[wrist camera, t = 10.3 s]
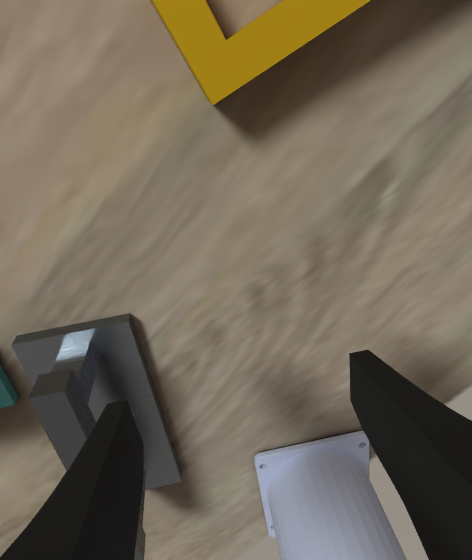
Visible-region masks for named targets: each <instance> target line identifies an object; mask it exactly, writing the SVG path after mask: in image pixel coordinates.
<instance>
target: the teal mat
mask: <svg viewBox="0 0 472 560" xmlns="http://www.w3.org/2000/svg"><path fill="white" fill-rule="evenodd" d="M18 398H19V397H18V396H17V394H16V392H15V390H14V388H13V386H12V385H11V383H10V381H9V379H8V377H7V375H6V374H5V372H4V370H3V368H2V366H1V364H0V408H3V407H8V406H13V405H15V404H16V402H17V400H18Z"/></svg>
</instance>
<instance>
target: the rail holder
mask: <svg viewBox="0 0 472 560" xmlns="http://www.w3.org/2000/svg"><path fill="white" fill-rule="evenodd" d="M12 347H13V349H14V351H15V353H16V355H17V357H18V359H19V361H20V363H21V364H22V366H23V368H24V370H25V372H26V374H27V376H28V378H29V380H30V382H31V384H32V386H33V389H32V391H31V393H30V396H29V398H28V399H29V401H30V403H31V405H32V407H33V409H34V411H35V413H36V415H37V416H38V418H39V420H40V422H41V424H42V426H43V428H44V430H45V431H46V433H47V435H48V437H49V439H50V441H51V443H52V445H53V447H54V448H55V450H56V452H57V454H58V456H59V458H60V460H61V462H62V463H63V465H64V467H65V469H66V471H67V470H68V469H69V467H70V466H71V464H72V463H73V461H74V459H75V458H76V456H77V455H78V453H79V451H80V450H81V448H82V446H83V445H84V443H85V441H86V440H87V438H88V436H89V434H90V433H91V431H92V429H93V428H94V426H95V424H96V422H97V420H98V419H99V417H100V415H101V413H102V412H103V410H104V408H105V406H106V405H107V404H108V403H113V402H118V401H123V400H127V402H128V404H129V407H130V410H131V412H132V415H133V418H134V420H135V423H136V426H137V428H138V431H139V433H140V436H141V439H142V441H143V444H144V478H143V487H142V496H141V505H140V513H139V521H138V530H137V538H136V547H135V557H134V560H144V552H145V536H146V535H145V532H144V530H143V528H142V525H143V511H144V497H145V490H147V489H152V488H157V487H161V486H166V485H170V484H175V483H180V482H182V471H181V468H180V465H179V462H178V459H177V456H176V452H175V449H174V446H173V443H172V440H171V437H170V434H169V431H168V428H167V425H166V422H165V419H164V416H163V413H162V410H161V407H160V404H159V401H158V398H157V394H156V391H155V388H154V385H153V382H152V379H151V376H150V373H149V370H148V367H147V364H146V361H145V358H144V355H143V352H142V349H141V346H140V343H139V339H138V336H137V333H136V330H135V327H134V324H133V321H132V318H131V315H130V314H124V315H119V316H114V317H109V318H104V319H99V320H94V321H89V322H84V323H79V324H74V325H69V326H64V327H59V328H54V329H49V330H44V331H39V332H34V333H29V334H24V335H19V336H16V338H15V340H14V341H13V343H12Z"/></svg>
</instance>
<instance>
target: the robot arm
mask: <svg viewBox="0 0 472 560" xmlns="http://www.w3.org/2000/svg"><path fill="white" fill-rule="evenodd" d="M349 355H350V396H351V403H352V405H353V407H354V410H355V412H356V415H357V417H358V420H359V422H360V424H361V427H362V429H363V431H358V432H353V433H348V434H344V435H339V436H335V437H330V438H325V439H321V440H316V441H311V442H307V443H302V444H298V445H293V446H288V447H284V448H279V449H274V450H270V451H265V452H260V453H258V454H256V455H255V457H254V461H255V466H256V471H257V476H258V481H259V487H260V492H261V497H262V502H263V507H264V512H265V517H266V523H267V528H268V533H269V536H270V537H272V538H276V540H277V544H278V549H279V554H280V559H281V560H407V559H406V557H405V555H404V553H403V551H402V548H401V546H400V544H399V542H398V540H397V538H396V536H395V533H394V531H393V529H392V528H391V525H390V523H389V521H388V519H387V516H386V514H385V512H384V510H383V508H382V506H381V504H380V501H379V499H378V497H377V495H376V493H375V491H374V489H373V487H372V484H371V482H370V480H369V442H370V444H371V445H372V447H373V449H374V451H375V452H376V454H377V456H378V458H379V459H380V461H381V463H382V465H383V467H384V468H385V470H386V472H387V474H388V475H389V477H390V478H391V481H392V482H393V484H394V486H395V488H396V490H397V491H398V493H399V495H400V497H401V499H402V501H403V502H404V505H405V507H406V509H407V511H408V513H409V516H410V518H411V520H412V522H413V524H414V526H415V529H416V531H417V533H418V536H419V538H420V540H421V542H422V545H423V547H424V549H425V551H426V554H427V556H428V558H429V560H472V421H471V420H469V419H467V418H465V417H464V416H462V415H460V414H458V413H457V412H455V411H453V410H452V409H450V408H448V407H447V406H445V405H444V404H442V403H441V402H439V401H437V400H436V399H434V398H433V397H431V396H430V395H428V394H427V393H426V392H424V391H423V390H421V389H420V388H418V387H417V386H416V385H414V384H413V383H411V382H410V381H409V380H407V379H406V378H404V377H403V376H402V375H400V374H399V373H398V372H396V371H395V370H394V369H393V368H391V367H390V366H389V365H387V364H386V363H385V362H383V361H382V360H381V359H380V358H378V357H377V356H376V355H374V354H373V353H372V352H370V351H369V350H364V351H359V352H354V353H349ZM143 478H144V444H143V441H142V439H141V436H140V433H139V431H138V428H137V426H136V423H135V420H134V418H133V415H132V412H131V410H130V407H129V404H128V402H127V400H123V401H118V402H113V403H108V404H107V405H106V406H105V408H104V410H103V412H102V413H101V415H100V417H99V419H98V420H97V422H96V424H95V426H94V428H93V429H92V431H91V433H90V434H89V436H88V438H87V440H86V441H85V443H84V445H83V446H82V448H81V450H80V451H79V453H78V455H77V456H76V458H75V459H74V461H73V463H72V464H71V466H70V467H69V469H68V470H67V472H66V473H65V475H64V476H63V478H62V479H61V481H60V482H59V484H58V485H57V487H56V488H55V490H54V491H53V493H52V494H51V495H50V497H49V498H48V500H47V501H46V502H45V504H44V505H43V506H42V508H41V509H40V510H39V512H38V513H37V514H36V516H35V517H34V518H33V519H32V521H31V522H30V523H29V525H28V526H27V527H26V528H25V529H24V531H23V532H22V533H21V534H20V535H19V537H18V538H17V539H16V540H15V541H14V542H13V543H12V545H11V546H10V547H9V548H8V549H7V550H6V551H5V552H4V554H3V555H2V556H1V557H0V560H134V557H135V547H136V538H137V530H138V521H139V513H140V505H141V496H142V487H143Z"/></svg>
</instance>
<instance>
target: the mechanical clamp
mask: <svg viewBox="0 0 472 560" xmlns="http://www.w3.org/2000/svg"><path fill="white" fill-rule="evenodd" d="M150 1H151V3H152V4H153V6H154V8H155V10H156V11H157V13H158V15H159V17H160V18H161V20H162V22H163V23H164V25H165V27H166V29H167V30H168V32H169V34H170V36H171V37H172V39H173V41H174V43H175V44H176V46H177V48H178V49H179V51H180V53H181V55H182V56H183V58H184V60H185V62H186V63H187V65H188V67H189V69H190V70H191V72H192V74H193V75H194V77H195V79H196V81H197V82H198V84H199V86H200V88H201V89H202V91H203V93H204V94H205V96H206V98H207V100H208V101H209V102H210V103H211V104H212V105H214V104H216V103H217V102H219V101H220V100H222V99H223V98H225V97H226V96H228V95H229V94H231V93H232V92H234V91H235V90H237V89H238V88H240V87H241V86H243V85H244V84H246V83H247V82H249V81H250V80H252V79H253V78H255V77H256V76H258V75H259V74H261V73H262V72H264V71H265V70H267V69H268V68H270V67H271V66H273V65H274V64H276V63H277V62H279V61H280V60H282V59H283V58H285V57H286V56H288V55H289V54H291V53H292V52H294V51H295V50H297V49H298V48H300V47H301V46H303V45H304V44H306V43H307V42H309V41H310V40H312V39H313V38H315V37H316V36H318V35H319V34H321V33H322V32H324V31H325V30H327V29H328V28H330V27H331V26H333V25H334V24H336V23H337V22H339V21H340V20H342V19H343V18H345V17H346V16H348V15H349V14H351V13H352V12H354V11H355V10H357V9H358V8H360V7H361V6H363V5H364V4H366V3H367V2H369V1H370V0H283V1H281V2H280V3H278V4H277V5H275V6H274V7H273V8H271V9H270V10H268V11H267V12H265V13H264V14H262V15H261V16H259V17H258V18H257V19H255V20H254V21H252V22H251V23H249V24H248V25H246V26H245V27H243V28H242V29H241V30H239V31H238V32H236V33H235V34H233V35H232V36H230V37H229V38H227V39H225V37H224V35H223V33H222V31H221V29H220V27H219V26H218V24H217V22H216V20H215V18H214V16H213V14H212V12H211V10H210V8H209V6H208V4H207V2H206V0H150Z"/></svg>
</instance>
